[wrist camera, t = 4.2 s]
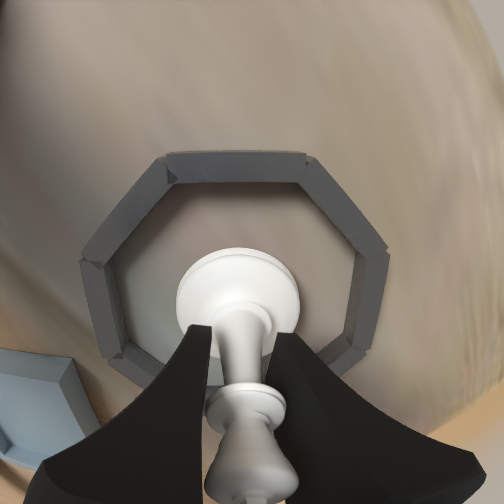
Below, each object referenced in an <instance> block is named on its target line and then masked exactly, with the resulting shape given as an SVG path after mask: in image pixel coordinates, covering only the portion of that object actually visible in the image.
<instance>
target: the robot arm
mask: <svg viewBox="0 0 504 504" xmlns="http://www.w3.org/2000/svg"><path fill="white" fill-rule="evenodd" d="M211 343H212V326H205V325H196V324H191V325H190V326H188V329H187V331H186V334H185V336H184V338H183V339H182V341H181V343H180V345H179V346H178V348H177V349H176V351H175V352H174V354H173V355H172V357H171V358H170V360H169V361H168V363H167V364H166V365H165V367H164V368H163V369H162V370H161V371H160V373H159V374H158V375H157V376H156V378H155V379H154V380H153V381H152V382H151V383H150V385H149V386H148V387H147V388H146V389H145V390H144V391H143V392H142V393H141V394H140V395H139V396H138V397H137V398H136V399H135V400H134V401H133V402H132V403H131V404H129V405H128V406H127V407H126V408H125V409H124V410H123V411H121V412H120V413H119V414H118V415H117V416H115V417H114V418H113V419H112V420H110V421H109V422H108V423H106V424H105V425H103V426H102V427H101V428H99V429H98V430H96V431H95V432H93V433H92V434H90V435H89V436H87V437H86V438H84V439H83V440H81V441H79V442H78V443H76V444H74V445H72V446H70V447H68V448H66V449H65V450H63V451H61V452H59V453H57V454H55V455H53V456H51V457H49V458H47V459H44V460H43V461H42V462H41V464H40V466H39V467H38V469H37V471H36V473H35V475H34V476H33V478H32V480H31V482H30V484H29V487H28V490H27V493H26V496H25V499H24V502H23V504H203V494H202V445H201V436H202V416H203V410H204V403H205V395H206V386H207V377H208V368H209V360H210V351H211ZM265 380H266V385H267V386H270V387H272V388H274V389H276V390H277V391H278V392H280V393H281V394H282V396H283V397H284V399H285V401H286V412H285V417H284V420H283V422H282V423H281V424H280V426H279V427H277V428H276V429H275V430H274V431H273V432H274V436H275V439H276V441H277V443H278V446H279V448H280V449H281V451H282V452H283V454H284V455H285V457H286V458H287V459H288V460H289V461H290V463H291V465H292V466H293V468H294V469H295V471H296V473H297V475H298V478H299V485H298V488H297V489H296V491H295V492H294V493H293V494H292V495H291V496H290V497H288V498H287V499H285V503H286V504H462V503H464V502H465V501H466V500H467V499H468V498H469V497H471V496H472V495H473V494H474V493H475V492H476V491H477V490H478V489H479V488H480V487H481V486H482V484H483V483H484V481H485V479H486V476H487V475H486V473H485V471H484V470H483V468H482V466H481V465H480V463H479V461H478V460H477V458H476V457H475V455H474V453H472V452H470V451H466V450H463V449H460V448H457V447H454V446H450V445H447V444H444V443H442V442H439V441H436V440H434V439H432V438H430V437H427V436H425V435H423V434H420V433H418V432H416V431H414V430H412V429H410V428H408V427H407V426H405V425H403V424H401V423H400V422H398V421H396V420H394V419H393V418H391V417H389V416H388V415H386V414H385V413H383V412H381V411H380V410H379V409H377V408H376V407H374V406H373V405H372V404H370V403H369V402H367V401H366V400H365V399H363V398H362V397H361V396H360V395H358V394H357V393H356V392H355V391H354V390H352V389H351V388H350V387H349V386H348V385H347V384H346V383H344V382H343V381H342V380H341V379H340V378H339V377H338V376H337V375H336V374H335V373H334V372H333V371H332V370H331V369H330V368H329V367H328V366H327V365H326V364H325V363H324V362H323V361H322V360H321V359H320V358H319V357H318V356H317V355H316V354H315V353H314V352H313V351H312V350H311V349H310V348H309V346H308V345H307V344H306V343H305V342H304V341H303V340H302V339H301V338H300V337H299V336H298V335H297V334H296V333H283V332H277V336H276V340H275V344H274V348H273V352H272V356H271V359H270V363H269V367H268V371H267V375H266V379H265Z"/></svg>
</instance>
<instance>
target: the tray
mask: <svg viewBox="0 0 504 504" xmlns="http://www.w3.org/2000/svg"><path fill="white" fill-rule="evenodd" d="M99 428H101V426H100V424H99V422H98V420H97V417H96V415H95V413H94V411H93V409H92V406H91V404H90V402H89V400H88V397H87V395H86V393H85V390H84V388H83V385H82V383H81V380H80V378H79V375H78V373H77V370H76V367H75V365H74V362H73V359H72V358H67V357H58V356H49V355H42V354H34V353H28V352H21V351H15V350H9V349H3V348H0V458H1V459H2V460H5V461H7V462H10V463H13V464H15V465H18V466H21V467H24V468H27V469H30V470H33V471H37V469H38V467H39V466H40V464H41V462H42V461H43V460H44V459H47V458H49V457H51V456H53V455H55V454H57V453H59V452H61V451H63V450H65V449H66V448H68V447H70V446H72V445H74V444H76V443H78V442H79V441H81V440H83V439H84V438H86V437H87V436H89V435H90V434H92V433H93V432H95V431H96V430H98V429H99Z"/></svg>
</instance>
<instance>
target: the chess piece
mask: <svg viewBox="0 0 504 504" xmlns="http://www.w3.org/2000/svg"><path fill="white" fill-rule="evenodd" d="M176 313H177V319H178V323H179V326H180V328H181V330H182V332H183V334H184V335H185V334H186V331H187V329H188V326H190V325H191V324H196V325H205V326H212V343H211V351H210V356H212V357H214V358H218V359H221V365H222V371H223V376H224V384H225V386H224V387H222V388H220V389H218V390H216V391H215V392H213V393H212V394H211V395H210V396H209V397H208V399H207V400H206V402H205V406H204V413H205V416H206V418H207V421H208V423H209V425H210V426H211V427H212V428H213V429H214V430H215V431H216V432H218V433H220V434H222V435H224V436H223V438H222V440H221V442H220V445H219V449H218V452H217V454H216V457H215V459H214V461H213V463H212V464H211V466H210V468H209V470H208V473H207V475H206V478H205V482H204V489H205V492H206V493H207V495H208V496H209V497H210V498H212V499H213V500H215V501H216V502H218V503H220V504H276V503H279V502H281V501H283V500H285V499H287V498H288V497H290V496H291V495H292V494H293V493H294V492H295V491H296V489H297V488H298V485H299V478H298V475H297V473H296V471H295V469H294V468H293V466H292V465H291V463H290V461H289V460H288V459H287V458H286V457H285V455H284V454H283V452H282V451H281V449H280V448H279V446H278V443H277V441H276V439H275V438H274V436H273V435H272V433H271V432H272V431H274V430H275V429H276V428H277V427H279V426H280V424H281V423H282V422H283V420H284V417H285V412H286V401H285V399H284V397H283V396H282V394H281V393H280V392H278V391H277V390H276V389H274V388H272V387H270V386H267V385H264V384H262V357H263V356H265V355H268V354H270V353H271V352H273V348H274V344H275V340H276V336H277V332H283V333H293V331H294V329H295V327H296V325H297V322H298V319H299V314H300V301H299V292H298V288H297V285H296V282H295V280H294V278H293V276H292V274H291V273H290V272H289V270H288V269H287V268H286V267H285V266H284V265H283V264H282V263H281V262H280V261H278V260H277V259H276V258H274V257H272V256H270V255H268V254H266V253H264V252H261V251H258V250H254V249H249V248H228V249H223V250H219V251H215V252H213V253H210V254H208V255H206V256H204V257H203V258H201V259H200V260H198V261H197V262H196V263H194V264H193V265H192V266H191V267H190V268H189V269H188V271H187V272H186V273H185V275H184V276H183V278H182V280H181V282H180V284H179V287H178V290H177V296H176Z"/></svg>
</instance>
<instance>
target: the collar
mask: <svg viewBox="0 0 504 504" xmlns="http://www.w3.org/2000/svg"><path fill="white" fill-rule="evenodd" d="M210 182H296V183H297V184H298V186H299V187H300V188H301V189H302V190H303V191H304V192H305V193H306V194H307V195H308V196H309V197H310V199H311V200H312V201H313V202H314V203H315V204H316V205H317V206H318V207H319V208H320V210H321V211H322V212H323V213H324V214H325V215H326V216H327V217H328V219H329V220H330V221H331V222H332V223H333V224H334V225H335V226H336V228H337V229H338V230H339V231H340V232H341V233H342V235H343V236H344V237H345V238H346V239H347V240H348V241H349V243H350V244H351V245H352V246H353V247H354V249H355V250H356V254H355V262H354V269H353V276H352V283H351V289H350V296H349V302H348V308H347V314H346V319H345V325H344V330H343V333H342V334H341V335H340V336H338V337H337V338H336V339H335V340H334V341H332V342H331V343H330V344H329V345H328V346H326V347H325V348H324V349H323V350H321V351H320V352H319V353H318V354H316V355H317V356H318V357H319V358H320V359H321V360H322V361H323V362H324V363H325V364H326V365H327V366H328V367H329V368H330V369H331V370H332V371H333V372H334V373H335V374H336V375H337V376H338V377H339V376H340V375H341V374H343V373H344V372H345V371H347V370H348V369H349V368H350V367H352V366H353V365H354V364H355V363H357V362H358V361H359V360H360V359H362V358H363V357H364V356H365V355H366V353H365V352H364V350H367V349H370V348H371V344H372V340H373V336H374V332H375V328H376V324H377V319H378V315H379V310H380V306H381V301H382V296H383V291H384V286H385V281H386V276H387V270H388V264H389V259H390V254H388V253H387V252H386V251H385V250H386V249H387V248H388V246H387V245H386V243H385V242H384V241H383V239H382V238H381V237H380V236H379V234H378V233H377V232H376V230H375V229H374V228H373V226H372V225H371V224H370V223H369V221H368V220H367V219H366V218H365V216H364V215H363V214H362V213H361V211H360V210H359V209H358V208H357V206H356V205H355V204H354V203H353V201H352V200H351V199H350V198H349V197H348V195H347V194H346V193H345V192H344V191H343V189H342V188H341V187H340V186H339V185H338V183H337V182H336V181H335V180H334V179H333V178H332V176H331V175H330V174H329V173H328V172H327V171H326V169H325V168H324V167H323V166H322V165H321V164H320V163H319V162H318V160H317V159H316V158H314V157H311V156H307V155H306V153H302V152H298V151H261V150H222V151H186V152H171V153H168V154H166V158H165V157H164V156H163V157H160V158H157V159H156V160H155V161H154V162H153V164H152V165H151V166H150V167H149V168H148V169H147V170H146V172H145V173H144V174H143V175H142V176H141V177H140V179H139V180H138V181H137V182H136V183H135V184H134V186H133V187H132V188H131V189H130V190H129V192H128V193H127V194H126V195H125V196H124V198H123V199H122V200H121V201H120V203H119V204H118V205H117V206H116V208H115V209H114V210H113V211H112V213H111V214H110V215H109V216H108V218H107V219H106V220H105V222H104V223H103V224H102V225H101V227H100V228H99V229H98V231H97V232H96V233H95V235H94V236H93V237H92V239H91V240H90V241H89V243H88V244H87V246H86V247H85V248H84V250H83V251H82V253H81V254H82V255H83V256H84V257H83V258H82V259H81V260H80V261H79V262H80V268H81V273H82V278H83V283H84V288H85V292H86V297H87V301H88V305H89V309H90V313H91V317H92V321H93V325H94V329H95V333H96V336H97V340H98V343H99V347H100V350H101V354H102V357H103V358H109V360H108V362H107V364H109V365H110V366H111V367H113V368H114V369H116V370H117V371H118V372H120V373H121V374H123V375H124V376H126V377H127V378H128V379H130V380H131V381H133V382H134V383H136V384H137V385H139V386H140V387H142V388H143V389H146V388H147V387H148V386H149V385H150V383H151V382H152V381H153V380H154V379H155V378H156V376H157V375H158V374H159V373H160V371H161V370H162V369H163V368H164V367H165V365H163V364H162V363H160V362H159V361H158V360H156V359H155V358H153V357H152V356H151V355H149V354H148V353H146V352H145V351H144V350H142V349H141V348H139V347H138V346H137V345H135V344H134V343H133V342H131V341H130V340H129V339H128V335H127V331H126V326H125V322H124V317H123V312H122V307H121V302H120V296H119V291H118V285H117V279H116V273H115V267H114V260H113V254H114V253H115V252H116V250H117V249H118V248H119V247H120V246H121V244H122V243H123V242H124V241H125V239H126V238H127V237H128V236H129V235H130V233H131V232H132V231H133V230H134V229H135V228H136V226H137V225H138V224H139V223H140V222H141V220H142V219H143V218H144V217H145V216H146V215H147V214H148V212H149V211H150V210H151V209H152V208H153V207H154V206H155V204H156V203H157V202H158V201H159V200H160V199H161V198H162V197H163V195H164V194H165V193H166V192H167V191H168V190H169V189H170V188H171V187H172V186H173V185H174V184H177V183H210ZM264 385H266V384H264ZM222 387H224V386H206V395H205V402H206V400H207V399H208V397H209V396H210V395H211V394H212V393H213V392H215V391H216V390H218V389H220V388H222ZM204 406H205V403H204ZM203 416H205V413H204V410H203Z"/></svg>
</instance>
